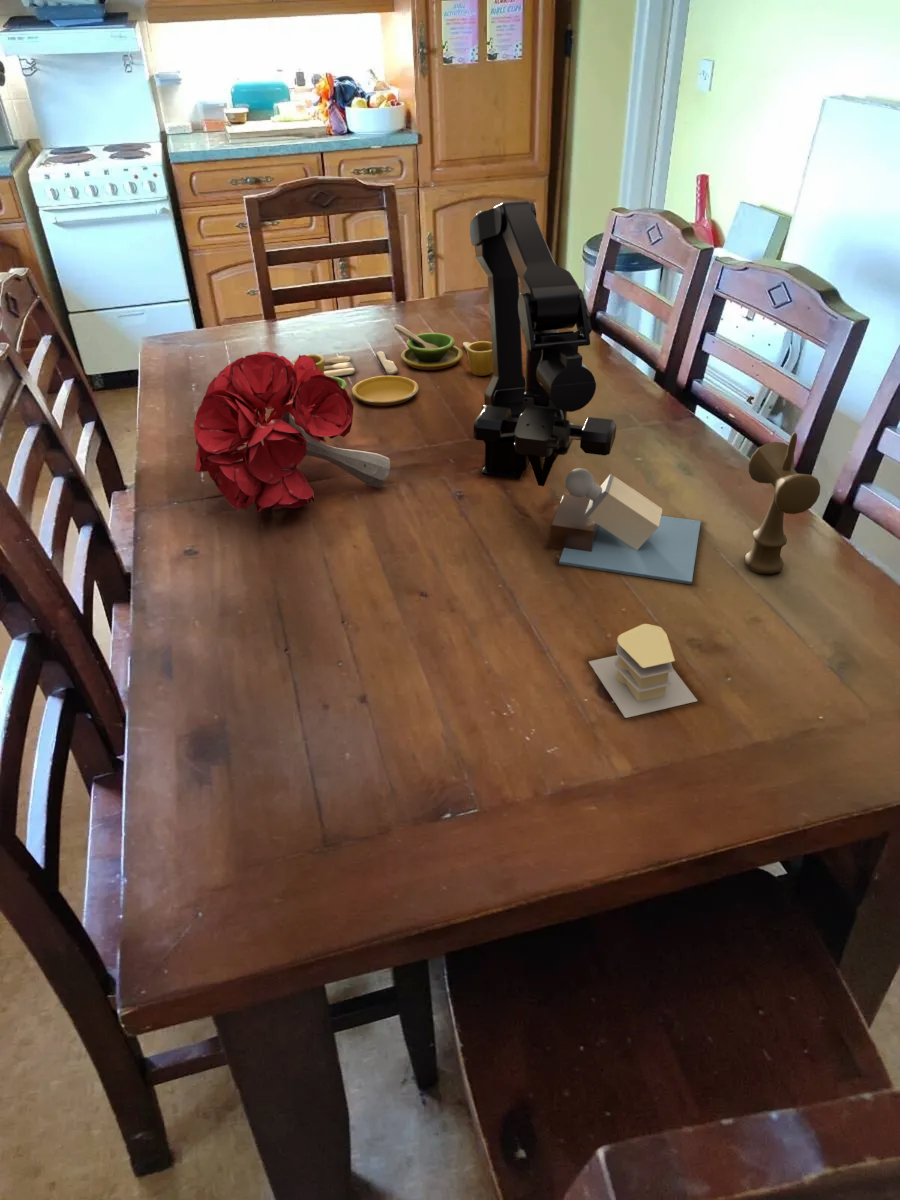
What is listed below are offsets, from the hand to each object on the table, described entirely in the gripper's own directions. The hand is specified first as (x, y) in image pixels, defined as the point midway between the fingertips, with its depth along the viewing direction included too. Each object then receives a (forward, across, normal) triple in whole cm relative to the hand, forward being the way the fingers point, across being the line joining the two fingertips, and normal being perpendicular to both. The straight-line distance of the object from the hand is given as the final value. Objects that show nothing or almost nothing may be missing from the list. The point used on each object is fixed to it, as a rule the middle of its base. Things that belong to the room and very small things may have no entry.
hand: (541, 484), depth 122 cm
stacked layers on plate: (+8, +18, -29) cm, 35 cm away
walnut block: (+8, +6, 0) cm, 9 cm away
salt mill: (+7, +10, 0) cm, 12 cm away
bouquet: (+8, -38, -1) cm, 39 cm away
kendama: (+8, +32, -1) cm, 32 cm away
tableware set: (+8, -40, +48) cm, 63 cm away
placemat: (+8, +14, 0) cm, 15 cm away
